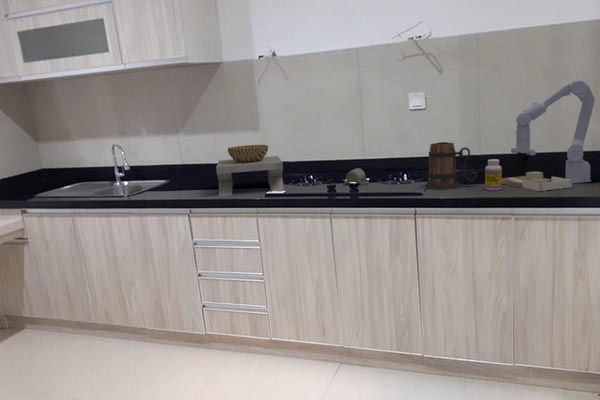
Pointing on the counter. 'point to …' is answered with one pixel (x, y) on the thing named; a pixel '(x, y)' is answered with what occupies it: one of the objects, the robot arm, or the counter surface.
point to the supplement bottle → (493, 175)
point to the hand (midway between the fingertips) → (522, 169)
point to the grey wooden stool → (249, 167)
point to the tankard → (445, 167)
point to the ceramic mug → (357, 176)
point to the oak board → (517, 181)
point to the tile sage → (534, 175)
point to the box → (547, 184)
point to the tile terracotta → (539, 180)
